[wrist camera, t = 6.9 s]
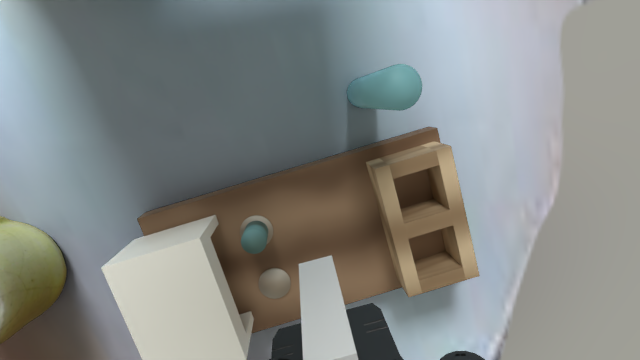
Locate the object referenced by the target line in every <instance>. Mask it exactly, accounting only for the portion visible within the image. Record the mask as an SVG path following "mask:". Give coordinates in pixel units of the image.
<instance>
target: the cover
mask: <svg viewBox="0 0 640 360" xmlns="http://www.w3.org/2000/svg"><path fill="white" fill-rule="evenodd" d="M218 224H219V223H218V220H217V217H216V215H213V216H210V217H206V218H203V219H200V220H196V221H193V222H190V223H186V224H183V225H180V226H176V227H173V228H170V229H167V230H163V231H160V232H157V233H153V234H150V235H147V236H143V237H140V238H137V239H134V240H133V241H132V242H130V243H129V244H128V245H127V246H126V247H125V248H123V249H122V250H121V251H120V252H119V253H118V254H117V255H115V256H114V257H113V258H112V259H111V260H110V261H108V262H107V263H106V264H105V265H104V266H103V267H101V269H102V271H103V273H104V276H105V278H106V280H107V282H108V284H109V287H110V289H111V291H112V293H113V296H114V298H115V300H116V302H117V304H118V307H119V309H120V311H121V313H122V316H123V318H124V320H125V322H126V324H127V327H128V329H129V331H130V333H131V336H132V338H133V340H134V342H135V344H136V347H137V349H138V351H139V353H140V356H141V358H142V360H247V355H248V349H249V344H250V338H251V332H252V327H253V321H254V318H253V315H252V313H251V311H250V312H246V313H243V314H240V315H239V313H238V310H237V307H236V305H235V302H234V299H233V297H232V294H231V291H230V289H229V286H228V283H227V281H226V278H225V275H224V273H223V270H222V267H221V265H220V262H219V260H218V257H217V254H216V252H215V249H214V246H213V244H212V241H211V238H210V237H211V236H212V234H213V232H214V231H215V229H216V227H217V226H218Z"/></svg>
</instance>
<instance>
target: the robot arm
mask: <svg viewBox="0 0 640 360" xmlns="http://www.w3.org/2000/svg"><path fill="white" fill-rule="evenodd" d="M299 284H300V305H301V323H300V324H296V325H293V326H289V327H285V328H282V329H279V330H278V332H277V333H276V335H275V337H274V338H273V344H272V359H269V360H403V359H402V357H401V356H400V354H399V352H398V349H397V347H396V345H395V342H394V340H393V338H392V335H391V333H390V330H389V328H388V326H387V323H386V321H385V318H384V316H383V314H382V311H381V309H380V308H378V307H377V306H375V305H374V304H373V303H371V304H367V305H363V306H359V307H356V308H352V309H348V310H346V307H345V304H344V300H343V296H342V292H341V289H340V285H339V281H338V277H337V273H336V270H335V266H334V262H333V258H332V255H330V256H327V257H323V258H319V259H315V260H312V261H308V262H304V263H300V264H299ZM440 360H485V359H484V358H482V357H480V356H479V355H477V354H475V353H471V352H467V351H455V352H452V353H448V354H446V355H445V356H443V357H442V358H441V359H440Z"/></svg>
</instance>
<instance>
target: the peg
mask: <svg viewBox="0 0 640 360" xmlns="http://www.w3.org/2000/svg"><path fill="white" fill-rule="evenodd" d="M421 91H422V81H421V78H420V76H419V74H418V73H417V71H416V70H415V69H413V68H412V67H410V66H408V65H404V64H397V65H393V66H390V67H388V68H385V69H382V70H380V71H377V72H374V73H371V74H369V75H366V76H363V77H360V78H358V79H355V80H354V81H352V82H351V84H350V85H349V87H348V90H347V96H348V99H349V101H350V102H351V104H353V105H354V106H356V107H359V108H372V109H386V110H405V109H408V108H410V107H411V106H413V105H414V104H415V103H416V102H417V101H418V99H419V97H420V95H421Z"/></svg>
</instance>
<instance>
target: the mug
mask: <svg viewBox="0 0 640 360" xmlns="http://www.w3.org/2000/svg"><path fill="white" fill-rule="evenodd" d="M66 274H67V269H66V265H65V261H64V258H63V255H62V252H61V251H60V249H59V248H58V246H57V244H56V243H55V242H54V241H53V239H52V238H51V237H50V236H49V235H47V234H46V233H45V232H43V231H41V230H39V229H38V228H35V227H33V226H31V225H28V224H25V223H21V222H17V221H12V220H9V219H7V218H5V217H1V216H0V344H1V343H3V342H4V341H6V340H7V339H9V338H10V337H11V336H12V335H14V334H15V333H16V332H17V331H19V330H20V329H21V328H22V327H24V326H25V325H26V324H27V323H29V322H30V321H32V320H33V319H35V318H36V317H38V316H40V315H41V314H42V313H43V312H45V311H46V310H47V309H48V308H49V307H50V306H51V305H52V304H53V303H54V302H55V301H56V300H57V298H58V297H59V295H60V294H61V292H62V289H63V287H64V284H65V281H66Z"/></svg>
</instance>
